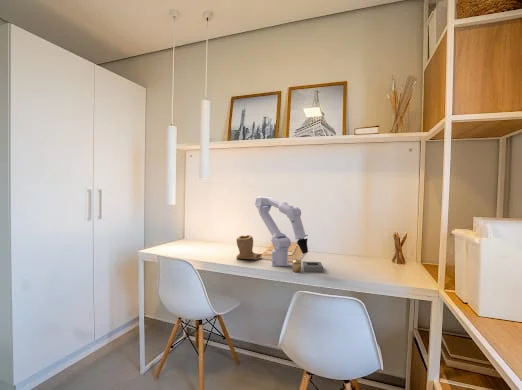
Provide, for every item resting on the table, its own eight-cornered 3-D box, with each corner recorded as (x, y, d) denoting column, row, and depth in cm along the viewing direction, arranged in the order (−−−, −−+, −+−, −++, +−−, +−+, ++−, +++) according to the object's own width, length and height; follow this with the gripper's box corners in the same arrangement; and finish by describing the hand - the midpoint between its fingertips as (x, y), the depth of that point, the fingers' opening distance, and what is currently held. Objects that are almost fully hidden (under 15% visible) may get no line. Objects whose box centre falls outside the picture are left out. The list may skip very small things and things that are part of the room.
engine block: (304, 271, 152) (304, 266, 152) (302, 266, 162) (302, 261, 162) (323, 272, 151) (323, 266, 151) (320, 267, 161) (320, 261, 161)
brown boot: (232, 260, 175) (233, 236, 174) (240, 256, 186) (240, 233, 186) (255, 262, 170) (256, 237, 170) (262, 258, 181) (262, 234, 181)
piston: (292, 272, 150) (292, 261, 150) (292, 270, 155) (292, 259, 155) (301, 272, 150) (301, 261, 150) (300, 270, 155) (300, 259, 154)
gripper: (306, 225, 149) (313, 250, 146) (304, 228, 163) (311, 251, 160) (293, 228, 149) (300, 253, 146) (292, 231, 163) (299, 255, 160)
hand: (305, 253), depth 153 cm, fingers open, 7 cm apart
